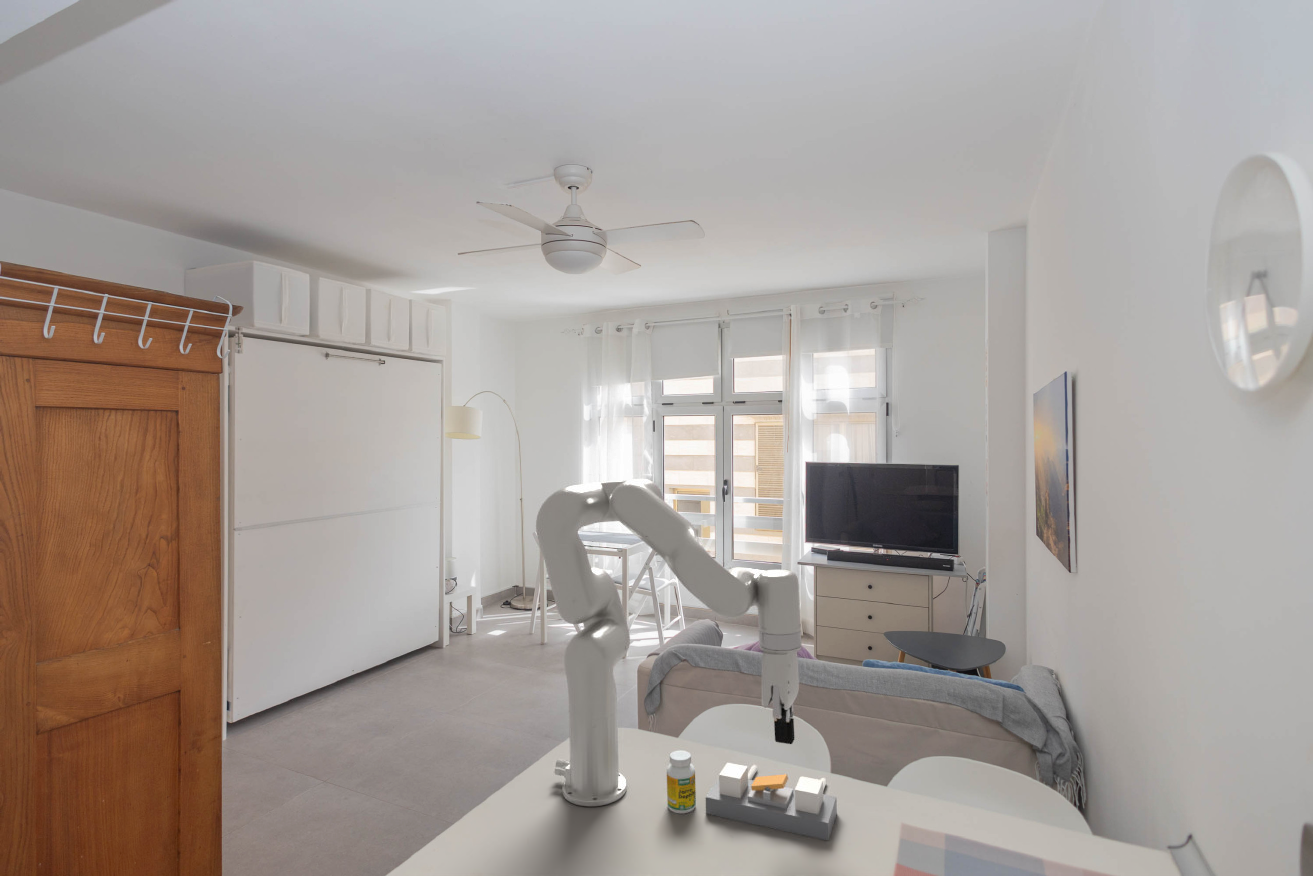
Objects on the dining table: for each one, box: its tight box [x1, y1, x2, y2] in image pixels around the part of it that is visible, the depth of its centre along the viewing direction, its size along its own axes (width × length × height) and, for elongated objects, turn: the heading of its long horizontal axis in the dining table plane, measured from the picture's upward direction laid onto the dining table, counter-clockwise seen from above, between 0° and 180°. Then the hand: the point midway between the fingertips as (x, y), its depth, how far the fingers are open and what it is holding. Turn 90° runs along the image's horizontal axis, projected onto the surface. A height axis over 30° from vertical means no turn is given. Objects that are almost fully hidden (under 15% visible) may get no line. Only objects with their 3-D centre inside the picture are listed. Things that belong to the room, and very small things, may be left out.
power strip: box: [705, 762, 838, 842], centre depth 124 cm, size 22×19×6 cm
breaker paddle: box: [751, 773, 789, 791], centre depth 119 cm, size 6×4×1 cm, turn 66°
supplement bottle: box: [666, 750, 697, 815], centre depth 122 cm, size 5×5×10 cm
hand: (784, 741), depth 118 cm, fingers closed
